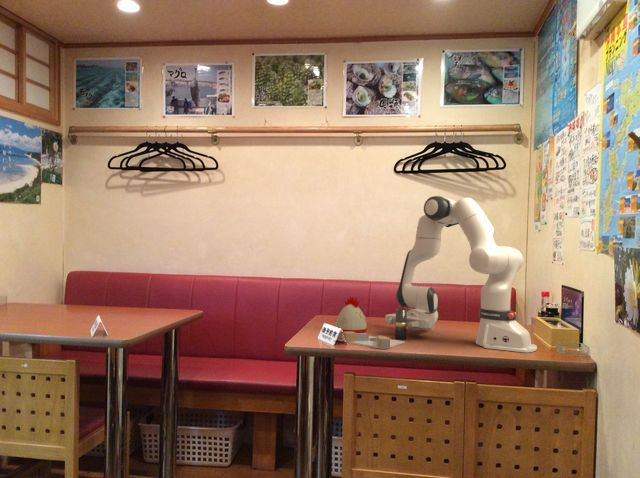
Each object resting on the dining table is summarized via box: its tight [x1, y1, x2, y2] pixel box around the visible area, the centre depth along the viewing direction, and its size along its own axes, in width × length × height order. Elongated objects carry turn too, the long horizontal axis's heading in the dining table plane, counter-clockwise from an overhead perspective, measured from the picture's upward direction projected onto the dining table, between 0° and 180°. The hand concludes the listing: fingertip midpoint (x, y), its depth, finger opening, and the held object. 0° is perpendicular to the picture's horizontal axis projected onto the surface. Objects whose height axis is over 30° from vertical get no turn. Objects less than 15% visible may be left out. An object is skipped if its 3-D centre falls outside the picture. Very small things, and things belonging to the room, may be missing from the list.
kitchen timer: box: [335, 296, 368, 333], centre depth 221 cm, size 14×14×15 cm
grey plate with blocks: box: [343, 331, 406, 350], centre depth 197 cm, size 24×17×4 cm
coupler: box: [394, 308, 408, 341], centre depth 205 cm, size 5×5×12 cm
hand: (400, 323), depth 205 cm, fingers open, 8 cm apart
